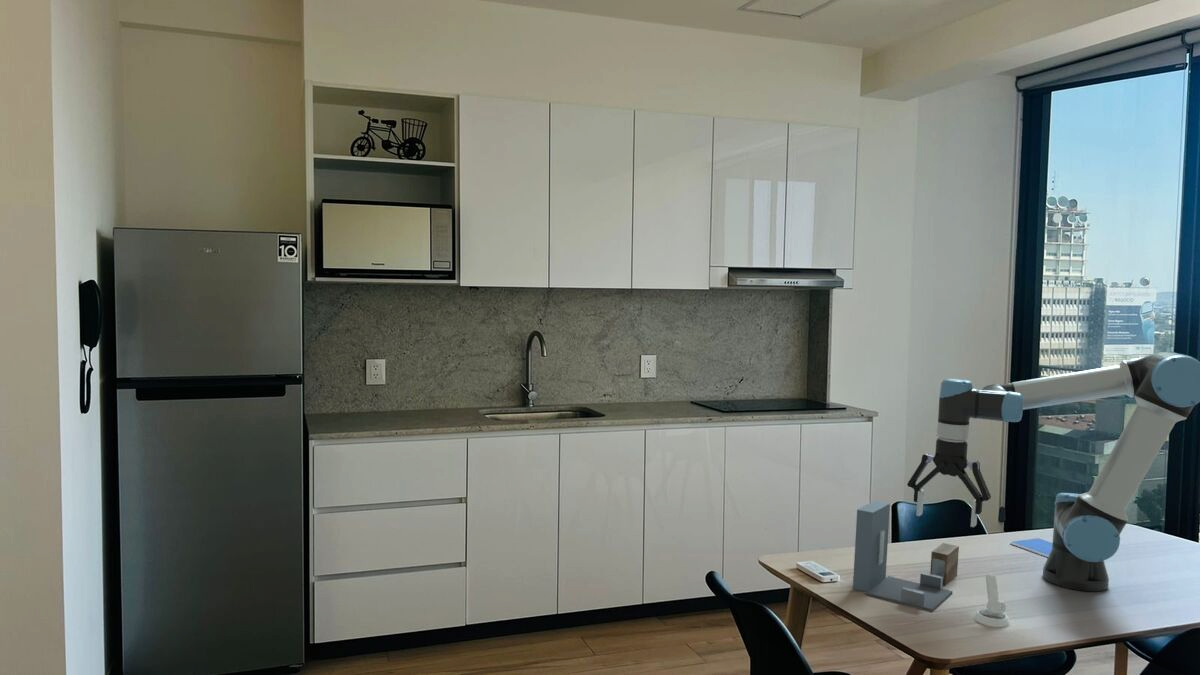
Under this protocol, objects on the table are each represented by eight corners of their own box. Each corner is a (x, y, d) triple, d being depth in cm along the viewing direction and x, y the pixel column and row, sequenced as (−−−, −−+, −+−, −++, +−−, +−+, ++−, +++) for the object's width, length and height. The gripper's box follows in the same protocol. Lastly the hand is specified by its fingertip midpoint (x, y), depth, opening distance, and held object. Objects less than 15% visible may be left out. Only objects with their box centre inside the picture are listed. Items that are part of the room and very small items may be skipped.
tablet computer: (1096, 561, 249) (1097, 557, 249) (1065, 566, 244) (1065, 561, 244) (1038, 541, 267) (1038, 537, 267) (1008, 545, 262) (1008, 541, 262)
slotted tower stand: (952, 593, 218) (957, 514, 216) (932, 611, 205) (937, 527, 204) (873, 574, 230) (877, 499, 228) (849, 590, 217) (854, 511, 216)
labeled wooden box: (957, 576, 231) (958, 546, 231) (945, 586, 223) (947, 555, 222) (941, 572, 234) (943, 542, 233) (929, 582, 225) (930, 552, 225)
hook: (989, 585, 210) (1010, 577, 204) (997, 636, 203) (1018, 629, 197) (962, 579, 208) (982, 571, 202) (969, 631, 201) (990, 624, 196)
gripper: (1007, 444, 222) (1000, 527, 223) (908, 430, 237) (902, 508, 238) (1000, 448, 216) (993, 533, 217) (898, 433, 231) (893, 513, 232)
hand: (945, 520), depth 228 cm, fingers open, 13 cm apart
